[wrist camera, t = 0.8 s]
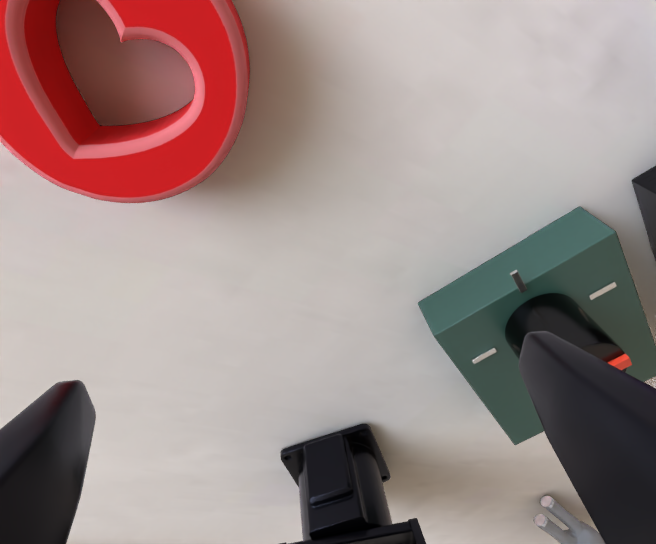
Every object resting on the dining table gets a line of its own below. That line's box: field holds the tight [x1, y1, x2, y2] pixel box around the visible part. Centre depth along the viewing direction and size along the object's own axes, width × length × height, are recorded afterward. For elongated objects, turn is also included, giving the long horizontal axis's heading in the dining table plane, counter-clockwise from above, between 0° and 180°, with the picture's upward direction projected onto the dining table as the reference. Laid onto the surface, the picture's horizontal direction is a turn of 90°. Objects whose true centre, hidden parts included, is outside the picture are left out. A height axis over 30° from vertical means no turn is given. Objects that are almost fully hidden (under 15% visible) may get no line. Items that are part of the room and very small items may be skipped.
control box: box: [418, 207, 656, 445], centre depth 27 cm, size 10×13×3 cm
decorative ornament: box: [0, 0, 250, 203], centre depth 17 cm, size 10×10×3 cm
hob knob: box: [505, 293, 632, 372], centre depth 23 cm, size 4×4×4 cm
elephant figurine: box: [534, 496, 605, 544], centre depth 39 cm, size 10×6×9 cm
